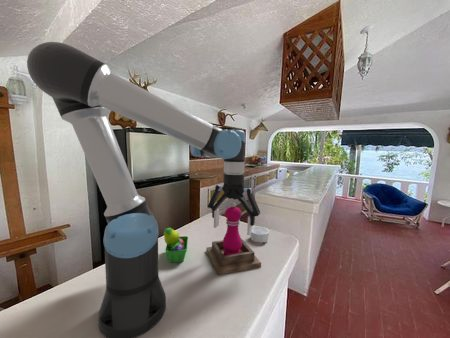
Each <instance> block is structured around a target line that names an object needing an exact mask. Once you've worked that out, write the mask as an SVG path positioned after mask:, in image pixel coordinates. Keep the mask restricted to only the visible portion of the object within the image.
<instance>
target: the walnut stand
mask: <svg viewBox="0 0 450 338" xmlns="http://www.w3.org/2000/svg"><path fill="white" fill-rule="evenodd" d="M241 241H242V246H241V248H240V253H238V254H232V255H225V256H224V249H225V248H224V247H223V239H222V240H216V241H215V240H214V241H212V242H211V246H209V247H207V246H206V248H205V249H206V253H207V255H208V257H209V261H210V262H211V264H212V266H213V268H214V270H215V272H216V274H217V275H218V276H220V275H224V274H230V273H235V272H241V271H246V270H250V269H255V268H261V267H262V262H261V261H260V260H259V258H258V257H257V256H256V255H255V254H256V253H255V251H254V250H253V249H252V248H250V246H249V245H248V244H247V243H246V242H245V240H243V238H241Z"/></svg>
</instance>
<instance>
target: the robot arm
mask: <svg viewBox="0 0 450 338" xmlns="http://www.w3.org/2000/svg"><path fill="white" fill-rule="evenodd" d="M27 56H28V57H27V60H26V67H27V71H28V74H29V77H30V79H31V80H32V82H33V83H34V85H36V86H37V87H38V88H39V90H41V92H43V93H45V94H46V95H48V96H50V97H51V98H52V99H53V103H54V104H55V107H56V109H57V111H58V114H59V116H60V117H61V119H62V120H63V121H65V122H66V123H68V124H71V126H72V127H73V130H74V133H75V135H76V137H77V139H78V142H79V144H80V146H81V148H82V152H83V153H84V156H85V158H86V161H87V163H88V165H89V167H90V169H91V170H90V171H92V174H93V177H94V179H95V182H96V184H97V186H98V188H99V191H100V192H101V195H102V197H103V199H104V201H105V204H106V209H105V210H104V212H103V215H104V217H105V220H106V222H107V225H106V226H105V229H104V235H103V240H102V241H103V247H104V261H105V262H104V265H105V287H106V288H105V293H104V296H103V299H102V302H101V305H100V308H99V311H98V317H97V318H98V320H97V321H98V330H99V332H100V333H101V334H102V335H103V336H104V337H106V338H135V337H138V336H140V335H142V334H144V333H146V332H147V331H149V330H151V329H152V328H153V327H154V326H156V324H158V322H159V321H160V320H161V319H162V318H163V316H164V314H165V311H166V307H167V296H166V292H165V290H164V287H163V284H162V282H161V278H160V277H159V233H160V232H159V231H160V229H159V226H158V221H157V220H156V218H155V216H154V214H153V212H152V211H151V210H150V208H149V205H148V202H147V200H146V197H144V196H141V195H140V194H138V191H137V189H136V186H135V184H134V181H133V178H132V176H131V173H130V171H129V167H128V165H127V163H126V160H125V157H124V155H123V153H122V151H121V148H120V146H119V143H118V139H117V137H116V134H115V132H114V130H113V127H112V125H111V122H110V120H109V115H110V114H111V112H112V113H113V112H114V113H115V114H119V115H121V116H124V117H125V118H127V119H130V120H132V121H133V122H134V121H135V122H137V123H138V124H141V125H144V126H145V127H148V128H151V129H153V130H155V131H157V132H160V133H162V134H164V135H166V136H168V137H171V138H174V139H176V140H178V141H180V142H183V143H185V144H187V145H189V148H190V150H189V151H190V153H191V155H192V156H193V157H200V158H202V157H203V158H204V157H205V158H206V157H208V158H214V159H215V158H217V159H222V160H223V173H224V174H223V179H222V180H223V182H222V183H223V185H222V184H220V183H219V184H217V185H215V189H214V191H213V194H212V196H211V199H210V200H209V202H208V204H207V208H209V209H211V213H212V214H211V217H212V219H213V228H215V229H216V228H217V227H218V226H219V223H220V209H219V207H220V206H221V205H222V203H223V202H224V201H225V200H226V199H229V200H230V199H233V200H238V201H239V202H240V204H241V205H242V207H244V209H245V211H246V212H247V213H248V216H247V233H246V234H247V236H250V234H251V233H252V227H254V226H255V222H256V221H255V220H256V217H258V216H259V215H260V214H261V211H260V208H259V206H258V203H257V201H256V199H255V196H254V194H253V193H254V192H253V188H252V187H249V188H246V187H245V174H244V173H245V164H246V163H245V158H246V156H245V155H246V133H245V131H244V130H241V129H223V128H222V129H221V128H220V127H218V126H216V125H214V124H212V123H210V122H208V121H206V120H205V119H202V118H201V117H198V116H197V115H195V114H192V113H191V112H189V111H187V110H184V109H183V108H182V107H179V106H177V105H175V104H173V103H171V102H169V101H167V100H165V99H164V98H161V97H160V96H158V95H156V94H154V93H151V92H150V91H148V90H146V89H144V88H142V87H140V86H139V85H136V84H134V83H132V82H130V80H129V81H128V80H126V79H125V78H122V77H121V76H119V75H117V74H115V73H114V72H112V71H111V69H110V67H109V65H108V64H106V63H104V62H103V61H100V60H98V59H97V58H95V57H93V56H91V55H89V54H88V53H85V52H84V51H82V50H81V49H78V48H76V47H74V46H72V45H69V44H68V43H67V44H66V43H64V42H57V41H47V42H43V43H40V44H37V45H36V46H34V47H33V48H32V49H31V50H30V52H29V54H28V55H27ZM221 191H223V193H222V195H221V197H219V195H220V193H221ZM244 193H245V194H246V195H247V199H248V201H249V202H248V201H247V199H246V197H245V195H244ZM218 197H219V199H218Z"/></svg>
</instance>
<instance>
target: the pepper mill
mask: <svg viewBox="0 0 450 338" xmlns="http://www.w3.org/2000/svg"><path fill="white" fill-rule="evenodd" d="M230 204H231V206H229V207H227V208H226V210H225V212H224V216H225V218H226V221H225V223H226V227H227V229H226V233H225V234H224V236H223V239H222V240H223V247H224V248H225V249H224V256H225V255H232V254H238V253H240V248H241V246H242V241H241V239H242V237H241V235H240V232H239V226H240V224H241V222H240V221H241V220H240V219H241V217H242V210H241V209H240V208H239V207H237V204H236V203H235V202H231V203H230Z"/></svg>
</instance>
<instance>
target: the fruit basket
mask: <svg viewBox="0 0 450 338" xmlns="http://www.w3.org/2000/svg"><path fill="white" fill-rule="evenodd" d="M163 236H164V242H165V244H166V247H165V250H164V251H165V253H166V256H167V259H168V263H179V262H184V261H185V257H186V253H187V250H188V241H189V236H186V235H185V236H181V235H180V233H179V232H178V231H177V230H174V229H173V228H171V227H168V228H167V227H166V228H165V229H164V232H163Z"/></svg>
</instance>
